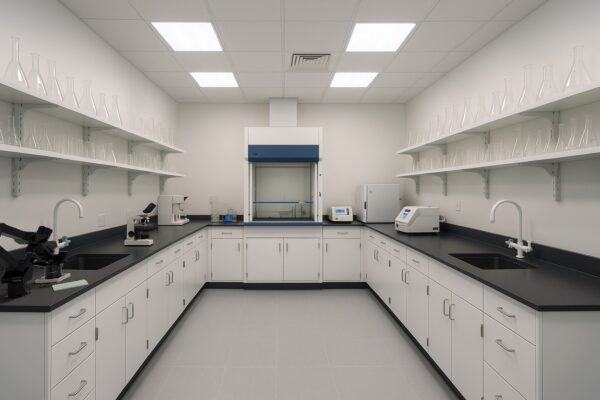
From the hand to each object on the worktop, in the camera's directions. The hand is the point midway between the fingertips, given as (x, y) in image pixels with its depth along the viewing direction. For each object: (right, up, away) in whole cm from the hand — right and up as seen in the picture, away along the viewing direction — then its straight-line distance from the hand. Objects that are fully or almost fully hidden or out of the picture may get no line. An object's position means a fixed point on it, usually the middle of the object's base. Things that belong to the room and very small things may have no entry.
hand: (55, 266), depth 153 cm
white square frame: (0, -7, -1) cm, 7 cm away
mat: (+17, -7, -11) cm, 22 cm away
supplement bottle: (0, -7, -1) cm, 7 cm away
